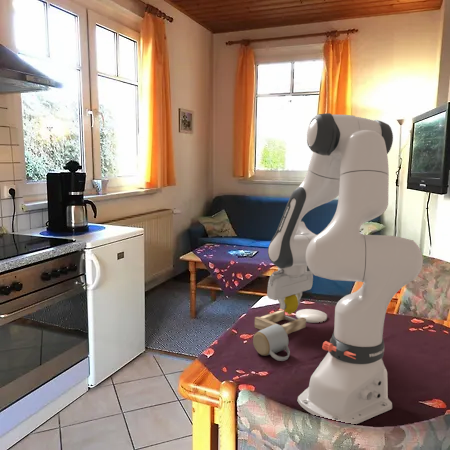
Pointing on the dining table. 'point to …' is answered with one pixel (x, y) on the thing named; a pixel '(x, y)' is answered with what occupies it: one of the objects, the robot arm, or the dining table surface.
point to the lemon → (291, 304)
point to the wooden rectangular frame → (278, 316)
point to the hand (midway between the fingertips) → (289, 306)
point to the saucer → (312, 315)
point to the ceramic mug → (272, 341)
